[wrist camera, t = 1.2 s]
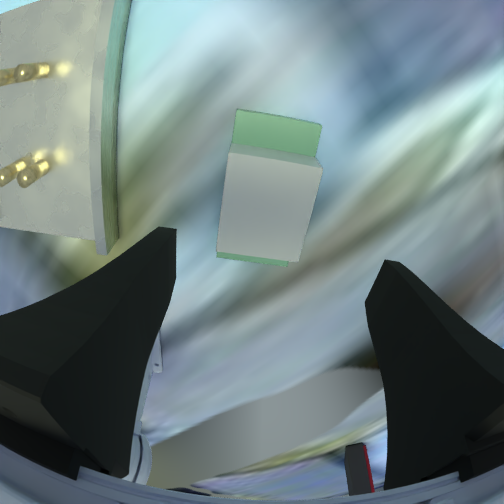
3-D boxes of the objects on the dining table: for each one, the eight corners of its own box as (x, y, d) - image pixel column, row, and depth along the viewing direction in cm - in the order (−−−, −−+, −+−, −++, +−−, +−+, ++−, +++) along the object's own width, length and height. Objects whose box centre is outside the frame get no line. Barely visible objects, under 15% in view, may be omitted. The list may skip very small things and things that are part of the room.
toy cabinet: (362, 458, 48) (372, 522, 35) (341, 463, 48) (349, 527, 36) (366, 440, 42) (380, 516, 30) (342, 446, 43) (353, 523, 30)
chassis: (118, 237, 21) (102, 262, 19) (-8, 220, 20) (-29, 238, 17) (134, -15, 12) (114, -29, 9) (-15, 23, 11) (-42, 24, 8)
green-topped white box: (285, 257, 23) (290, 287, 20) (217, 248, 22) (212, 278, 19) (318, 122, 18) (332, 132, 15) (237, 108, 17) (234, 114, 14)
